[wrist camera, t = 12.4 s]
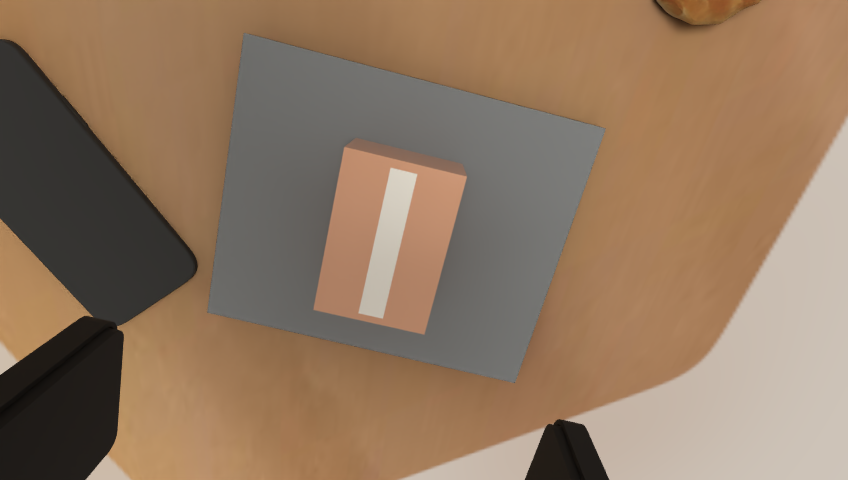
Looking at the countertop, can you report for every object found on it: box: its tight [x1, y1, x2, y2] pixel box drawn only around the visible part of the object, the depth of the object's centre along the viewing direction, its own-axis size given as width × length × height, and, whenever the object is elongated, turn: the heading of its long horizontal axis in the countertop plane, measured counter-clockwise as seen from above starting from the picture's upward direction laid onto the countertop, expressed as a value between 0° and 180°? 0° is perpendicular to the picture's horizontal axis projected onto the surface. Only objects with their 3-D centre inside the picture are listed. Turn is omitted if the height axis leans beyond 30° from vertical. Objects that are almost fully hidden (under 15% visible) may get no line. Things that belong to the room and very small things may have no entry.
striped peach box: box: [313, 138, 467, 334], centre depth 25 cm, size 8×6×4 cm
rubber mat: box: [207, 33, 605, 383], centre depth 27 cm, size 18×15×1 cm
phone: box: [0, 39, 197, 326], centre depth 27 cm, size 7×1×15 cm
